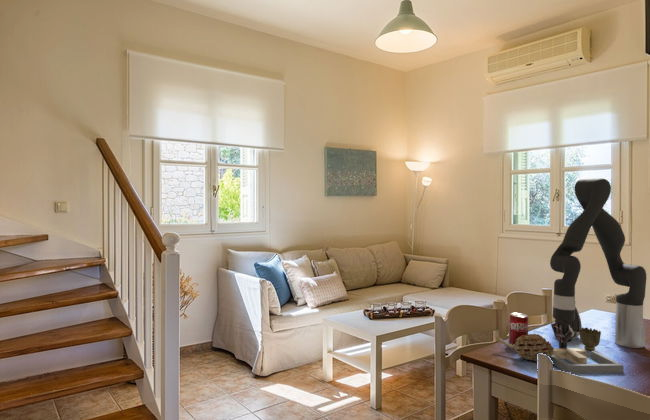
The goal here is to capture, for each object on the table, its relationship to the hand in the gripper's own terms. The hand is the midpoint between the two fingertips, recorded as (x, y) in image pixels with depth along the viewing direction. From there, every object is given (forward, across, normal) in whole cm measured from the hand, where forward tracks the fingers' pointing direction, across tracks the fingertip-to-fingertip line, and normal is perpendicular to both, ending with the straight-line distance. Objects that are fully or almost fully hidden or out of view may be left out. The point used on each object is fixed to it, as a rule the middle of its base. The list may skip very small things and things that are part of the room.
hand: (562, 351), depth 165 cm
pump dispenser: (+1, +22, -16) cm, 27 cm away
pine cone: (+1, -3, +18) cm, 18 cm away
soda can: (+1, +13, +11) cm, 17 cm away
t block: (+1, -7, 0) cm, 7 cm away
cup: (+1, +5, -14) cm, 15 cm away
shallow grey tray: (+1, -10, 0) cm, 10 cm away
